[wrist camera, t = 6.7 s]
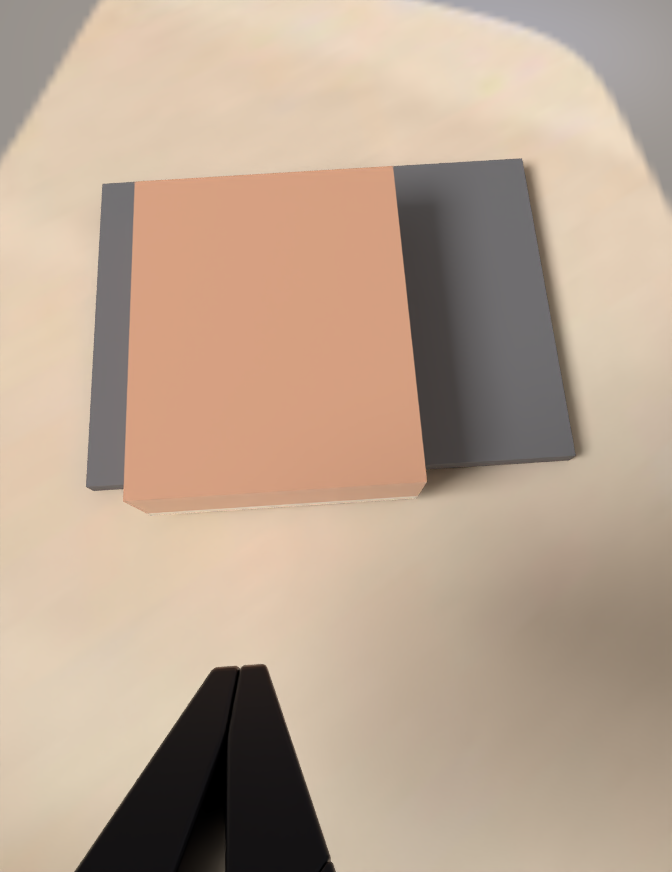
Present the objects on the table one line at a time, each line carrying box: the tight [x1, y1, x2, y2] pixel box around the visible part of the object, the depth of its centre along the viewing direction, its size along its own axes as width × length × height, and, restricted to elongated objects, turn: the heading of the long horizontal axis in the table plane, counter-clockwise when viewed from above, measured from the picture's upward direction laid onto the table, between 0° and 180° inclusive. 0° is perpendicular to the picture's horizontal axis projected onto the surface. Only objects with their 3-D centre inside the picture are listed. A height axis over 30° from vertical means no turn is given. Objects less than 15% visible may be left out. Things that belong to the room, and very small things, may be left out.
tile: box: [123, 166, 427, 516], centre depth 19 cm, size 2×8×10 cm
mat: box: [86, 159, 576, 491], centre depth 20 cm, size 11×15×1 cm
